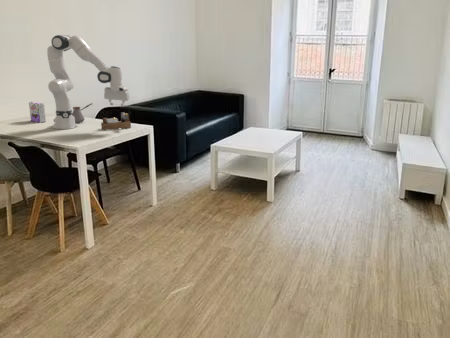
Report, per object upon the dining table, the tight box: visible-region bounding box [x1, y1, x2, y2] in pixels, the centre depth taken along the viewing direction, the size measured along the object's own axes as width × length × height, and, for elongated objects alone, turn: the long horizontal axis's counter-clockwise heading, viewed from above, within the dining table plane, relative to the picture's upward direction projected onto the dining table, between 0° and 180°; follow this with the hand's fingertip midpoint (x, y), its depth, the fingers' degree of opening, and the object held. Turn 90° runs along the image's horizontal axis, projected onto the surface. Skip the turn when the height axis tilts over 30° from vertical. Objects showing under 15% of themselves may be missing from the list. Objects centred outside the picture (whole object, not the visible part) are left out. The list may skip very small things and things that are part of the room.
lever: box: [120, 111, 128, 122], centre depth 327 cm, size 3×12×8 cm, turn 28°
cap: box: [106, 117, 119, 123], centre depth 328 cm, size 4×8×4 cm, turn 121°
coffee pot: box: [72, 102, 93, 124], centre depth 352 cm, size 21×12×15 cm, turn 138°
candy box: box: [28, 100, 47, 124], centre depth 348 cm, size 14×6×16 cm, turn 55°
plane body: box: [100, 113, 132, 131], centre depth 330 cm, size 7×22×11 cm, turn 120°
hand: (117, 105), depth 322 cm, fingers open, 8 cm apart
